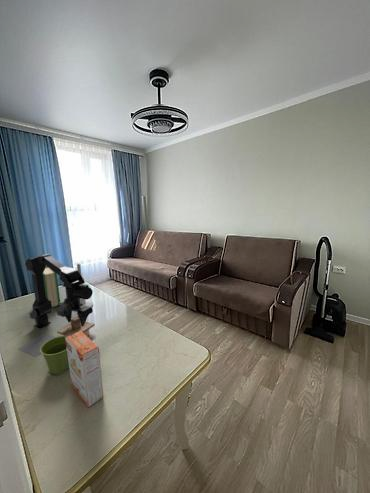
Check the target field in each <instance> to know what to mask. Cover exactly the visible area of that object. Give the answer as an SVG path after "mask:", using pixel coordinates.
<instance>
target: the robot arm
mask: <svg viewBox="0 0 370 493" xmlns="http://www.w3.org/2000/svg"><path fill="white" fill-rule="evenodd" d="M24 265H25V267H26V270H27V271H28V272H29V274H31V278H32V285H33V292H34V300H33V303H32V310H31V311H30V312H29V317H30V319H33V320H34V322H35V323H34V324H33V327H34V328H37V329H42V328H44V327H47V326H48V325H50V324H51V323H52V322H51V321H49V316H48V314H50V313H52V308H53V307H52V304H51V301H49V300H48V299H47V298H46V291H45V284H44V276H43V272H44V270H45V268H46V266H47V267H49V268H50V269H51V270H53V271H54V272H55V273H57V276H58V277H59V280H60V281H61V282H62V283H63V284H62V285H61V287H63V288H64V289H65V298H64V301H62V302H60V304H58V305H57V306H55V307H56V308H55V313H56V315H57V316H59V317H62V318H64V317H65V319H66V321H67V322H68V323H71V319H72V316H73V314H72V313H73V312H76V314H77V315H76V317H79V318H80V322H81V326H84V324H85V322H87V319H88V317H89V315H91V314H92V313H93V307H88V306H85V307H83V308H81V307H80V306H82V303H80V298H81V299H85V301H88V300H90V298H92V295H93V292H94V291H93V289H92V287H89V284H85V283H86V281H85V279H84V277H83V275H82V276H81V275H80V273H79V272H78V270H77V268H76V269H75V268H73V267H68V266H67V265H65V264H63V263H61V262H60V261H58V260H57V259H56V258H54V257H53V256H52V254H50V253H46V254H41V255H39V256H35V257H30V258H27V259H26V260H25V264H24Z"/></svg>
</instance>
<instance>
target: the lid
mask: <svg viewBox="0 0 370 493" xmlns="http://www.w3.org/2000/svg"><path fill="white" fill-rule="evenodd" d="M93 327H95V323H92V322H88V321H86V322H85V324H84V326H81V322H80V318H79V317H77V316H74V317H71V322H69V323H68V324H67V325H65V326H63V327H62V328H60V329H58V330H57V332H56V333H57V334H59V335H61V336H64V335H65V336H70V335H72V334H74V333H77V332H79V331H82V332H83V333H84V332H86V331H87V330H89V331H90V329H92V328H93Z"/></svg>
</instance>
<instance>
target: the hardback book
mask: <svg viewBox="0 0 370 493" xmlns="http://www.w3.org/2000/svg"><path fill="white" fill-rule="evenodd" d="M43 276H44V284H45V291H46V298H47V299H48V300H49V301H51V304H52V308H53V307H56V306H57V305H58V304H60V303H61V297H60V289H59V282H58V274H57V273H55V272H54V271H53V270H51V269H50V268H49V267H47V266H46V268H45V270H44V272H43Z"/></svg>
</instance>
